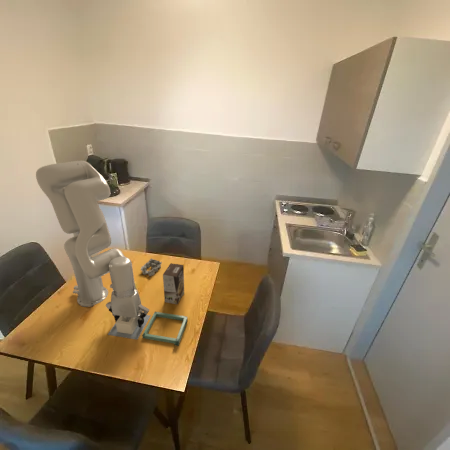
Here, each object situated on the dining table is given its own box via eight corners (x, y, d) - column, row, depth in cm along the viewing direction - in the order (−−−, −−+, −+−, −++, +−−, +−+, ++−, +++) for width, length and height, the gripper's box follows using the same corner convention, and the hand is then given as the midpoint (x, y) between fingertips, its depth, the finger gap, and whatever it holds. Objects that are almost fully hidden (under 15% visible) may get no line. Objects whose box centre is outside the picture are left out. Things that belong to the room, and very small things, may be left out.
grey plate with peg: (108, 336, 95) (104, 321, 92) (124, 313, 106) (121, 299, 103) (137, 341, 94) (135, 327, 91) (150, 317, 105) (149, 303, 101)
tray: (142, 339, 95) (142, 335, 94) (155, 316, 105) (154, 311, 104) (178, 345, 93) (178, 341, 92) (187, 321, 104) (187, 316, 103)
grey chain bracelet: (152, 277, 128) (151, 271, 126) (139, 274, 130) (138, 267, 129) (163, 266, 137) (163, 260, 135) (151, 263, 139) (151, 257, 138)
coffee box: (177, 306, 111) (176, 277, 104) (164, 303, 112) (162, 274, 105) (184, 292, 119) (184, 264, 112) (172, 290, 120) (170, 262, 113)
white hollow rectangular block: (132, 334, 95) (130, 325, 93) (117, 331, 96) (115, 322, 94) (142, 317, 103) (140, 308, 101) (128, 315, 104) (126, 306, 101)
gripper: (96, 292, 89) (104, 326, 97) (142, 299, 87) (146, 334, 95) (108, 279, 96) (114, 312, 103) (151, 285, 94) (154, 318, 101)
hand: (129, 322), depth 99 cm, fingers open, 9 cm apart
